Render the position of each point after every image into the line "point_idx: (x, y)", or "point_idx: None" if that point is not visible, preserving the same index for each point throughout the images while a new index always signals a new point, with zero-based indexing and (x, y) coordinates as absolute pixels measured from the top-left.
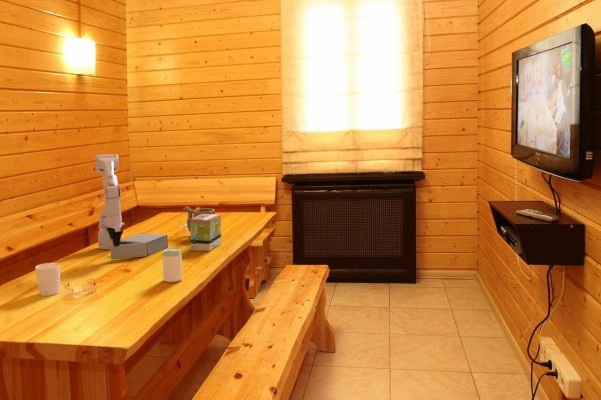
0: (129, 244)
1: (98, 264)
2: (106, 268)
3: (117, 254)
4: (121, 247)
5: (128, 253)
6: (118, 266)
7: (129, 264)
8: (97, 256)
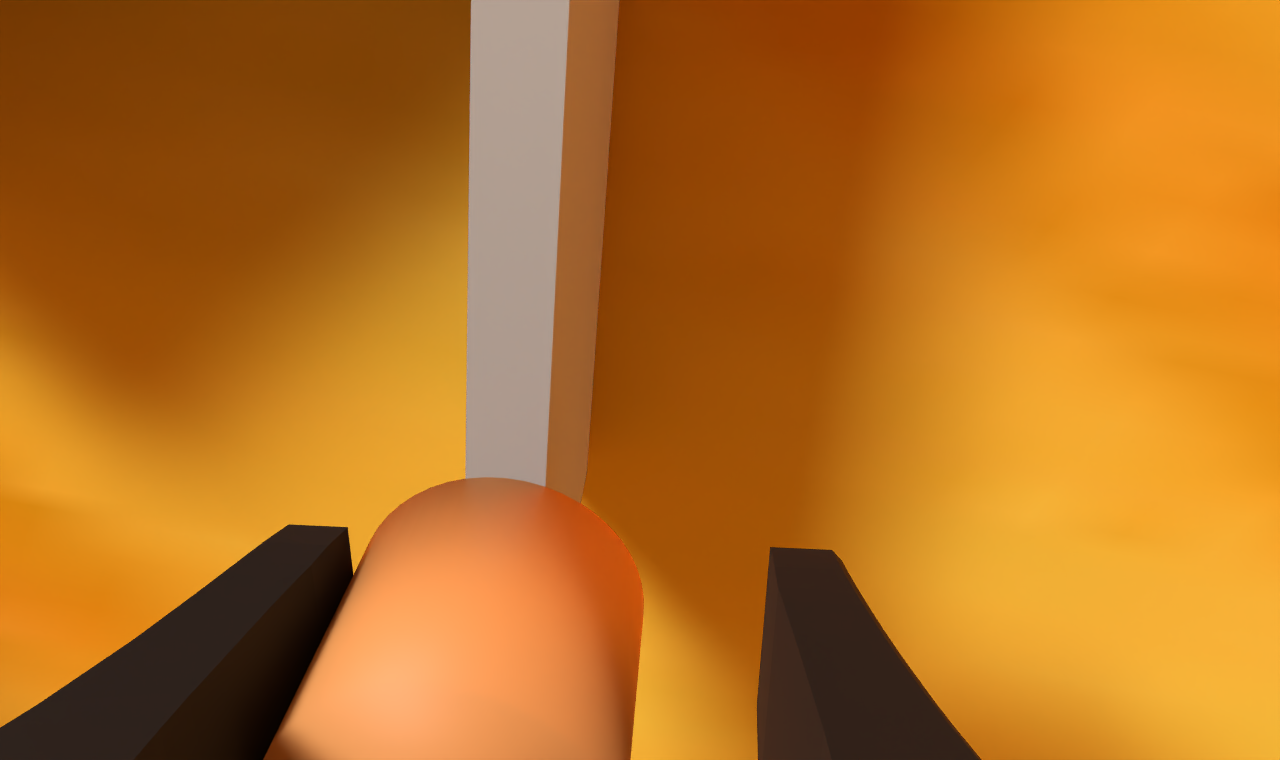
0: (570, 25)
1: (745, 728)
2: (1204, 674)
3: (580, 383)
4: (559, 349)
5: (604, 31)
6: (1245, 433)
7: (1275, 142)
8: (4, 616)
